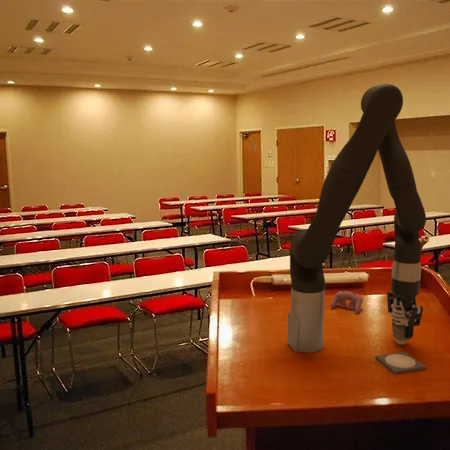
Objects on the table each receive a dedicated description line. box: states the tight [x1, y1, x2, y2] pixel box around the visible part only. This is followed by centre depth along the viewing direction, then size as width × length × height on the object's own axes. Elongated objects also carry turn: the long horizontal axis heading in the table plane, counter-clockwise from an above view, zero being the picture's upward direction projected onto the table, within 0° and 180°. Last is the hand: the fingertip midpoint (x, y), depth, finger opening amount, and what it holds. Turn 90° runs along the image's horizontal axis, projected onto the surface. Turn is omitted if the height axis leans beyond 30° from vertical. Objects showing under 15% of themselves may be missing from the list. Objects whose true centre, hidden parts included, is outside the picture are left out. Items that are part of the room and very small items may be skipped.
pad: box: [375, 351, 427, 375], centre depth 140 cm, size 9×9×1 cm
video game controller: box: [330, 290, 363, 315], centre depth 178 cm, size 10×5×7 cm, turn 58°
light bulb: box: [391, 305, 412, 346], centre depth 150 cm, size 6×6×12 cm
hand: (402, 333), depth 151 cm, fingers closed on light bulb, 5 cm apart
